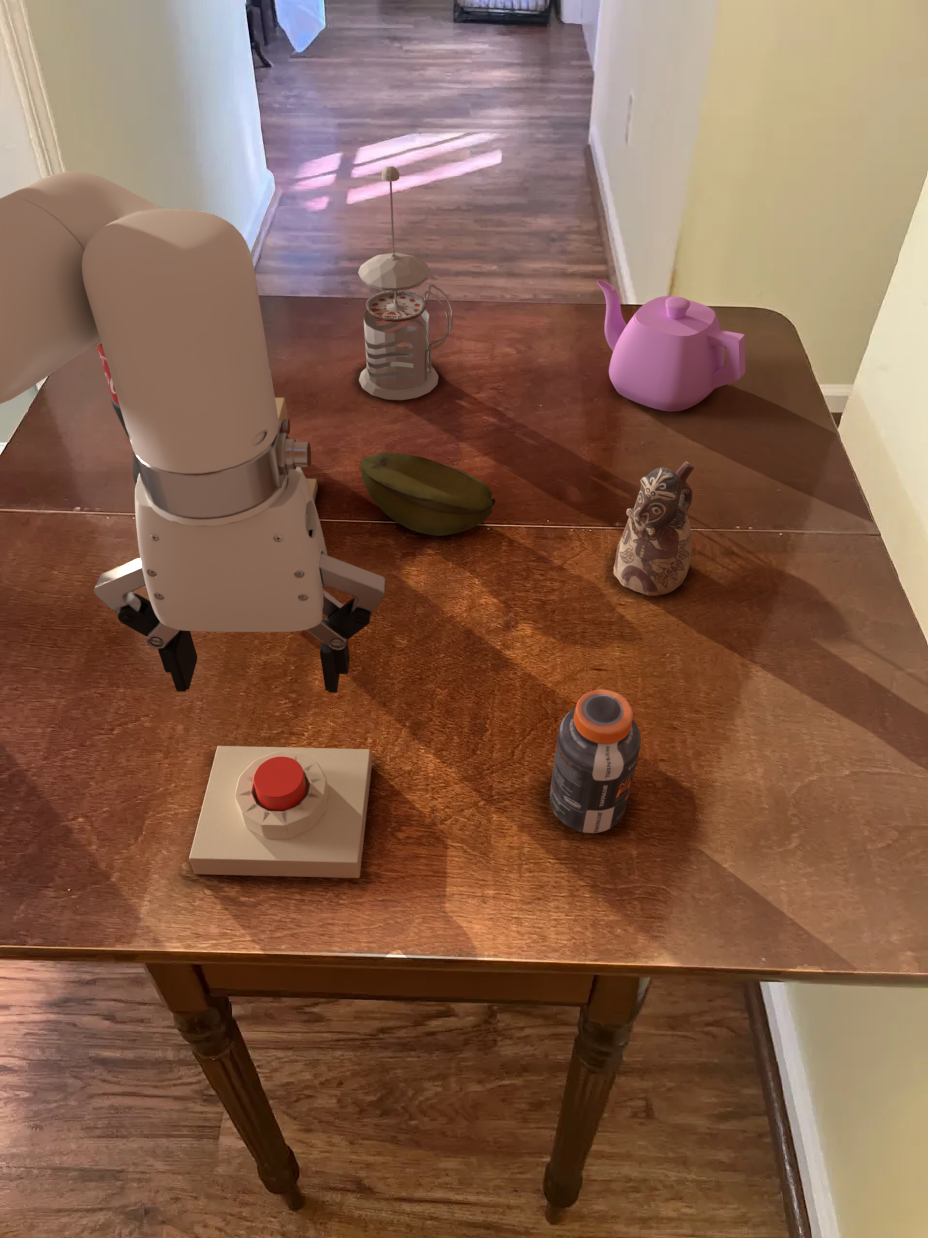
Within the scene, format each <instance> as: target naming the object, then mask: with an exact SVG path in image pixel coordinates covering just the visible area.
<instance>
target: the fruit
mask: <svg viewBox="0 0 928 1238" xmlns="http://www.w3.org/2000/svg"><path fill="white" fill-rule="evenodd" d="M360 476H361V479H362V481H363V484H364V487H365V488H366V490H367V492H368V494H369V496H370V497H371V498H372V500H373V502H374V503H375V504H376V505H377V506H378V507H379V509H380V511H382V512H383V513H384V514H385V516H386V517H388V518H390V519H391V520H392V521H394V522H395V523H396V524H399V525H401V526H402V527H404V528H406V529H408V530H410V531H413V532H415V533H419V534H424V535H429V536H434V537H435V536H436V537H443V536H450V535H451V536H452V535H456V534H460V533H463V532H466V531H468V530H471V529H474V528H475V527H478V526H479V525H482V524H484V522H485V521H486V520H487V519H488V518H489V516H491V515H492V513H493V507H494V506H495V504H496V499H495V498H492V496H493V491H492V490H491V487H490V486H488V484H486V483H485V482H483V481H482V480H480V479H478V478H477V477H474V475H471V474H469V473H468V472H466V471H464V470H461V469H459V468H456V467H452V466H449V465H446V464H442V463H440V462H438V461H435V460H432V459H429V458H426V457H423V456H418V455H412V454H408V453H407V454H406V453H399V452H392V451H391V452H390V451H389V452H382V453H376V454H373V455H369V456H364V457H362V458H361V460H360Z"/></svg>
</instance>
